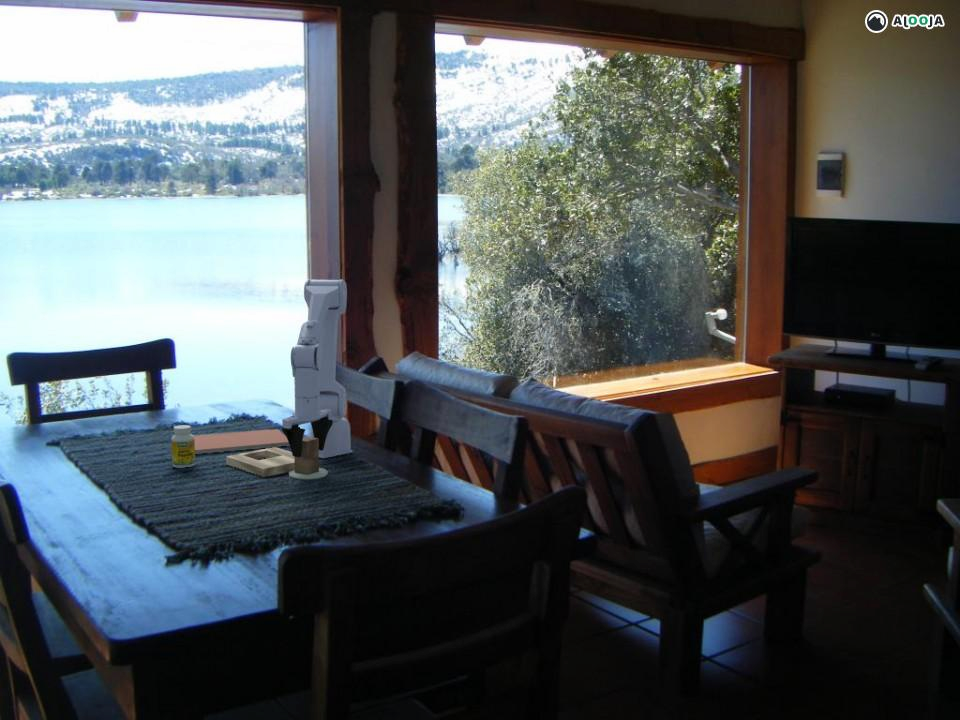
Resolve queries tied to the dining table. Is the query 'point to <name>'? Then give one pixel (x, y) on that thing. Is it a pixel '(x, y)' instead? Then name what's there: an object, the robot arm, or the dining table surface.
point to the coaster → (311, 476)
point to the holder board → (263, 461)
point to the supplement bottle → (183, 447)
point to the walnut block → (308, 457)
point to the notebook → (239, 441)
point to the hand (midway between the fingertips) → (308, 453)
